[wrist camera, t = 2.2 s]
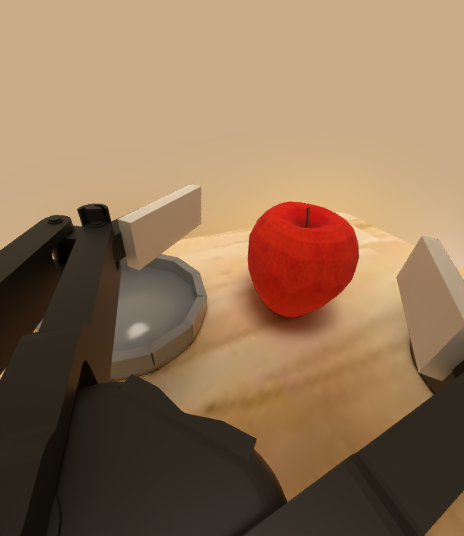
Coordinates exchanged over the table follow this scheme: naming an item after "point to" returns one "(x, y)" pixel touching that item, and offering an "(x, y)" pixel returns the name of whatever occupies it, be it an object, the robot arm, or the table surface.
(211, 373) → the table surface
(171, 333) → the dish
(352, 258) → the apple
